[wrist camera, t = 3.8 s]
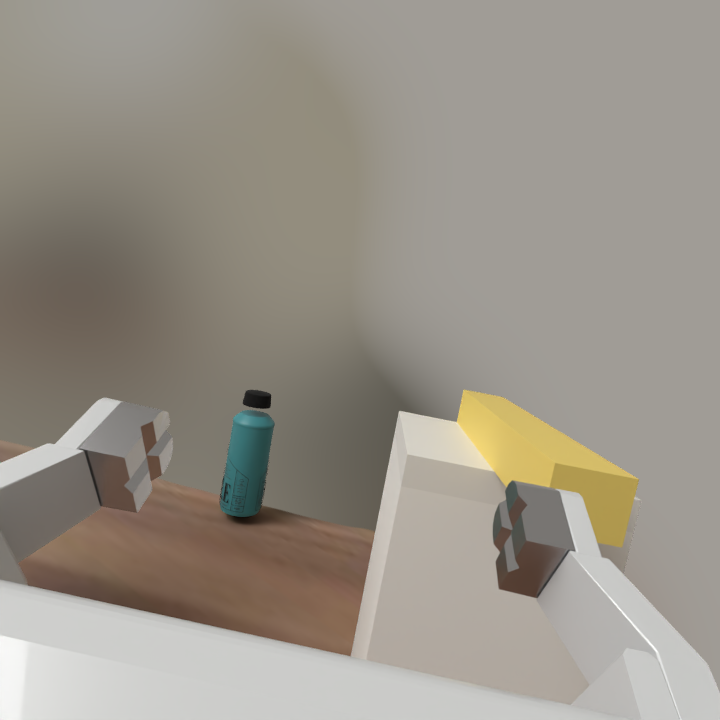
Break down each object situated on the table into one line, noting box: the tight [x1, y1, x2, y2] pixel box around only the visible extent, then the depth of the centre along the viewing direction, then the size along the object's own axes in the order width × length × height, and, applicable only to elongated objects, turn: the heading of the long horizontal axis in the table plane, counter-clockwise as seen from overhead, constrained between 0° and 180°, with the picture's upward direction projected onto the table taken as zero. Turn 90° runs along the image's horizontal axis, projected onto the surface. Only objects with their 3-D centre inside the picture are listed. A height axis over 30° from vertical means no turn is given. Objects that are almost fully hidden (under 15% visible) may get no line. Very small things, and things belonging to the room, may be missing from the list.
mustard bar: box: [457, 390, 639, 548], centre depth 30 cm, size 22×4×3 cm, turn 177°
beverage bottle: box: [220, 390, 274, 517], centre depth 71 cm, size 6×7×20 cm
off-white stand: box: [351, 411, 641, 705], centre depth 36 cm, size 14×14×26 cm
